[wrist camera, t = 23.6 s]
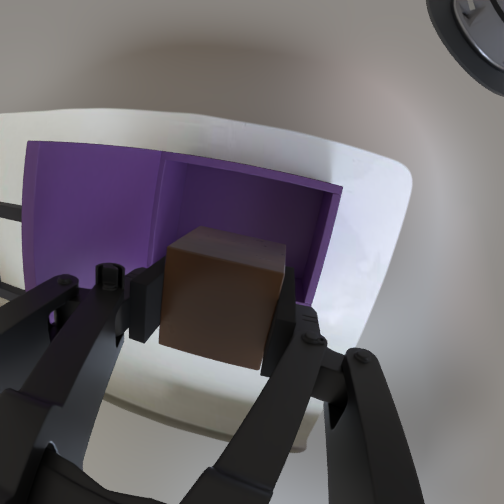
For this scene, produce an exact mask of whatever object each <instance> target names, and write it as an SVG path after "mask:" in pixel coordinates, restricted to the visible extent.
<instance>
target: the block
mask: <svg viewBox="0 0 504 504" xmlns="http://www.w3.org/2000/svg"><path fill="white" fill-rule="evenodd" d="M285 258H286V245H285V244H281V243H276V242H272V241H267V240H263V239H259V238H254V237H250V236H245V235H241V234H236V233H232V232H227V231H223V230H218V229H214V228H209V227H204V226H199V227H197V228H196V229H194V230H192V231H191V232H189V233H188V234H186V235H184V236H183V237H181V238H180V239H178V240H177V241H175V242H173V243H172V244H170V245H169V246H167V251H166V260H165V269H164V280H163V291H162V302H161V315H160V329H159V344H161V345H164V346H167V347H171V348H174V349H177V350H181V351H184V352H187V353H191V354H194V355H198V356H202V357H205V358H209V359H213V360H216V361H220V362H224V363H228V364H232V365H236V366H241V367H245V368H249V369H254V370H259V369H260V366H261V362H262V359H263V355H264V350H265V346H266V343H267V339H268V335H269V331H270V328H271V324H272V320H273V316H274V313H275V309H276V305H277V301H278V299H279V296H280V292H281V288H282V284H283V280H284V276H285Z"/></svg>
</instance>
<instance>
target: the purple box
mask: <svg viewBox="0 0 504 504" xmlns="http://www.w3.org/2000/svg"><path fill="white" fill-rule="evenodd" d="M342 189H343V187H342V186H339V185H335V184H331V183H327V182H323V181H319V180H315V179H311V178H306V177H302V176H298V175H294V174H289V173H285V172H280V171H275V170H271V169H266V168H261V167H256V166H251V165H246V164H240V163H235V162H230V161H224V160H218V159H212V158H206V157H200V156H194V155H187V154H180V153H173V152H166V151H162V153H161V158H160V164H159V170H158V176H157V183H156V189H155V196H154V203H153V211H152V219H151V227H150V236H149V246H148V256H147V268H149V267H150V266H151V265H153V264H154V263H156V262H157V261H158V260H160V259H161V258H163V257H164V256H165V255H166V251H167V246H169V245H170V244H172V243H173V242H175V241H177V240H178V239H180V238H181V237H183V236H184V235H186V234H188V233H189V232H191V231H192V230H194V229H196V228H197V227H199V226H204V227H209V228H214V229H218V230H223V231H227V232H232V233H236V234H241V235H245V236H250V237H254V238H259V239H263V240H267V241H272V242H276V243H281V244H285V245H286V258H285V266H288V267H293V268H294V273H295V296H296V304H300V305H304V306H309V307H311V304H312V302H313V298H314V295H315V292H316V288H317V285H318V282H319V278H320V275H321V271H322V268H323V264H324V260H325V257H326V253H327V249H328V246H329V242H330V238H331V234H332V230H333V226H334V222H335V218H336V214H337V210H338V206H339V202H340V198H341V194H342Z"/></svg>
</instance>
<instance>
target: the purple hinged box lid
mask: <svg viewBox="0 0 504 504" xmlns="http://www.w3.org/2000/svg"><path fill="white" fill-rule="evenodd" d="M161 153H162V151H158V150H150V149H142V148H133V147H123V146H113V145H102V144H89V143H74V142H54V141H28V142H27V148H26V156H25V165H24V176H23V191H22V206H21V205H16V204H10V203H4V202H0V217H1V218H5V219H10V220H14V221H19V222H22V256H23V271H24V282H25V290H22V289H20V288H17V287H14V286H12V285H9V284H6V283H4V282H1V278H0V297H2V298H4V299H6V300H9V301H11V300H13V299H15V298H17V297H18V296H20V295H22V294H24V293H25V292H27V291H29V290H31V289H32V288H34V287H36V286H38V285H40V284H41V283H43V282H45V281H47V280H49V279H51V278H52V277H54V276H57V275H62V274H70V275H73V276H75V277H77V278H78V279H79V287H80V288H87V289H92V288H93V286H94V285H95V266H96V265H98V264H100V263H108V262H110V263H117V264H120V265H122V266H124V268H125V275H126V274H128V273H129V272H131V271H132V270H134V269H136V268H140V267H144V268H147V256H148V246H149V236H150V227H151V219H152V211H153V203H154V196H155V189H156V183H157V176H158V170H159V164H160V158H161ZM49 319H50V323H53V322H54V313H53V312H52V313H51V314H50V315H49Z"/></svg>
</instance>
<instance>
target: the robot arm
mask: <svg viewBox="0 0 504 504" xmlns="http://www.w3.org/2000/svg"><path fill="white" fill-rule="evenodd" d="M451 12H452V16H453V19H454V21H455V24H456V26H457V28H458V30H459V32H460V33H461V35H462V36H463V38H464V39H465V41H466V42H467V43H468V45H469V46H470V47H471V48H472V50H473V51H474V52H475V53H476V54H477V55H478V56H479V57H480V58H481V59H482V60H483V61H484V62H486V63H487V64H488V65H490V66H491V67H493V68H494V69H496V70H498V71H500V72H503V73H504V0H451ZM165 260H166V255H165V256H164V257H163V258H161V259H160V260H158V261H157V262H156V263H154V264H153V265H151V266H150V267H149V268H144V267H140V268H136V269H134V270H132V271H131V272H129V273H128V274H126V275H125V268H124V266H122V265H120V264H117V263H110V262H108V263H100V264H98V265H96V266H95V285H94V286H93V288H92V289H87V288H80V287H79V279H78V278H77V277H75V276H73V275H70V274H62V275H57V276H54V277H52V278H51V279H49V280H47V281H45V282H43V283H41V284H40V285H38V286H36V287H34V288H32V289H31V290H29V291H27V292H25V293H24V294H22V295H20V296H18V297H17V298H15V299H13V300H11V301H10V302H8V303H6V304H5V305H3V306H1V307H0V504H166V503H163V502H160V501H157V500H154V499H152V498H144V497H139V496H133V495H128V494H123V493H118V492H114V491H109V490H107V489H105V488H103V487H102V486H101V485H99V484H98V483H97V482H95V481H94V480H93V479H92V478H90V477H89V476H88V475H87V474H86V473H85V472H83V459H84V456H85V452H86V449H87V445H88V442H89V438H90V435H91V432H92V429H93V426H94V423H95V419H96V417H97V414H98V411H99V407H100V404H101V402H102V399H103V396H104V393H105V390H106V387H107V385H108V382H109V379H110V376H111V374H112V371H113V368H114V366H115V363H116V360H117V358H118V355H119V353H120V350H121V348H122V345H123V343H124V332H125V331H126V330H127V329H128V328H129V338H130V339H133V340H136V341H139V342H142V343H145V342H146V341H147V340H148V339H149V337H150V336H151V335H152V334H153V332H154V331H155V330H156V329H157V327H158V326H159V325H160V315H161V302H162V291H163V280H164V269H165ZM52 312H53V313H54V322H53V323H50V319H49V315H50V314H51V313H52ZM260 375H261V376H265V377H270V378H269V380H268V381H267V383H266V385H265V387H264V388H263V390H262V392H261V393H260V395H259V397H258V398H257V400H256V401H255V403H254V405H253V406H252V408H251V410H250V411H249V413H248V414H247V416H246V418H245V419H244V421H243V422H242V424H241V425H240V427H239V429H238V430H237V432H236V433H235V435H234V436H233V438H232V439H231V441H230V442H229V444H228V445H227V447H226V448H225V450H224V452H223V453H222V454H221V456H220V457H219V459H218V460H217V462H216V463H215V464H214V466H212V467H208V468H207V469H206V470H205V471H204V472H203V473H202V474H201V476H200V477H199V478H198V480H197V481H196V483H195V484H194V485H193V486H192V488H191V489H190V490H189V492H188V493H187V494H186V496H185V497H184V498H183V500H182V501H181V502H180V503H179V504H269V502H270V499H271V497H272V495H273V489H274V487H275V485H276V482H277V480H278V478H279V476H280V473H281V471H282V468H283V466H284V464H285V461H286V459H287V457H288V454H289V452H290V450H291V447H292V445H293V442H294V440H295V437H296V435H297V432H298V429H299V427H300V424H301V421H302V419H303V416H304V413H305V411H306V408H307V405H308V402H309V399H310V397H314V398H316V399H319V400H322V401H324V404H323V406H324V419H325V433H326V448H327V466H328V490H329V504H425V503H424V499H423V495H422V491H421V487H420V484H419V480H418V477H417V473H416V469H415V466H414V463H413V459H412V456H411V453H410V449H409V446H408V443H407V440H406V437H405V434H404V431H403V428H402V425H401V422H400V419H399V416H398V413H397V410H396V407H395V404H394V401H393V399H392V396H391V393H390V390H389V388H388V385H387V382H386V379H385V377H384V374H383V372H382V369H381V366H380V364H379V361H378V359H377V358H376V356H375V355H374V354H372V353H371V352H370V351H367V350H366V349H361V348H350V349H348V350H347V351H346V354H345V355H343V354H340V353H337V352H335V351H333V350H331V349H329V348H328V347H327V340H326V339H325V337H323V336H322V335H321V334H320V329H319V324H318V317H317V312H316V311H315V310H314V309H313V308H312V307H309V306H304V305H300V304H296V296H295V273H294V268H293V267H288V266H285V276H284V280H283V284H282V288H281V292H280V296H279V299H278V301H277V305H276V309H275V313H274V316H273V320H272V324H271V328H270V331H269V335H268V339H267V343H266V346H265V350H264V355H263V361H262V367H261V374H260Z"/></svg>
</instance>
